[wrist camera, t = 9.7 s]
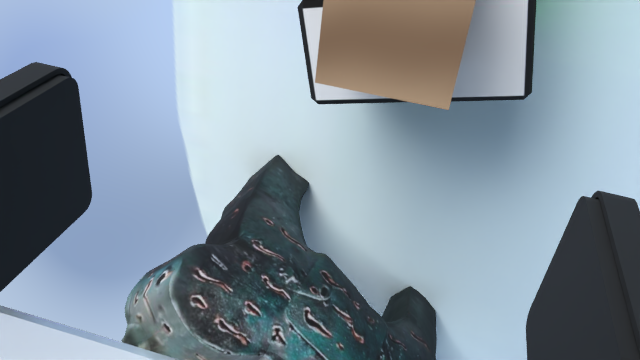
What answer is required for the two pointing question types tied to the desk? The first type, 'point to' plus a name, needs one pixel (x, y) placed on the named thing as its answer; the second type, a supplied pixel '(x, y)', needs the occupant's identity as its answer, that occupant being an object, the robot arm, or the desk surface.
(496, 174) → the desk surface
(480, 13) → the puzzle cube
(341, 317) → the dark green animal figurine
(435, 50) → the light brown cube
